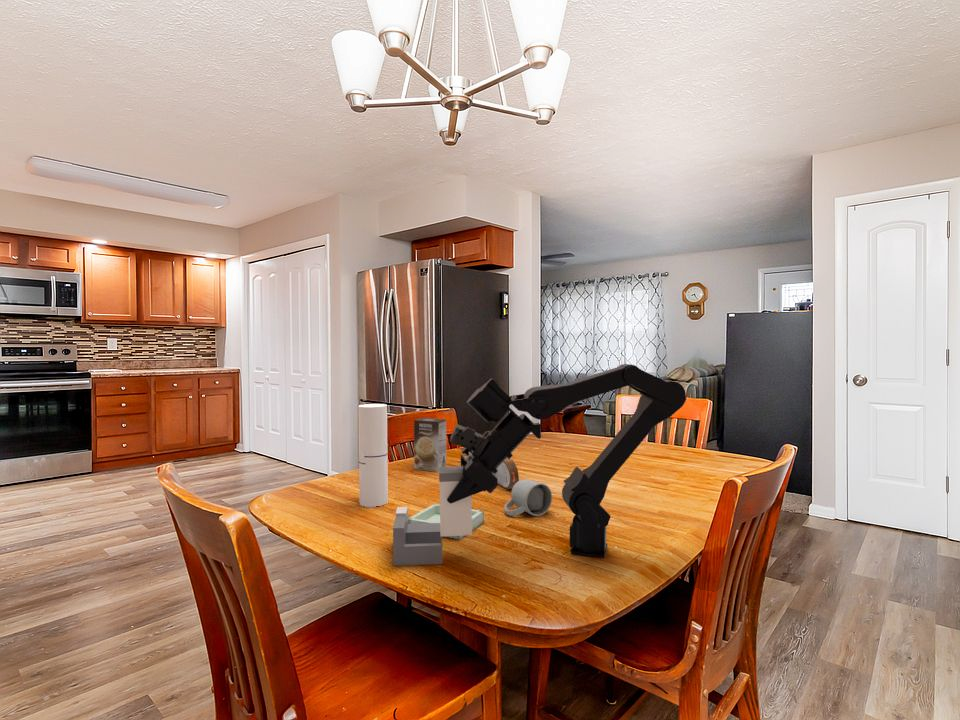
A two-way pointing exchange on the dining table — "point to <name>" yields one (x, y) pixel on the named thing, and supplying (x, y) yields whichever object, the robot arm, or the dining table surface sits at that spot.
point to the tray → (433, 516)
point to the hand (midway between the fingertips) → (448, 497)
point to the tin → (507, 474)
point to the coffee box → (429, 444)
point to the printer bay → (415, 541)
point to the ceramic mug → (529, 498)
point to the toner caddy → (453, 505)
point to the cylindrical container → (373, 455)
